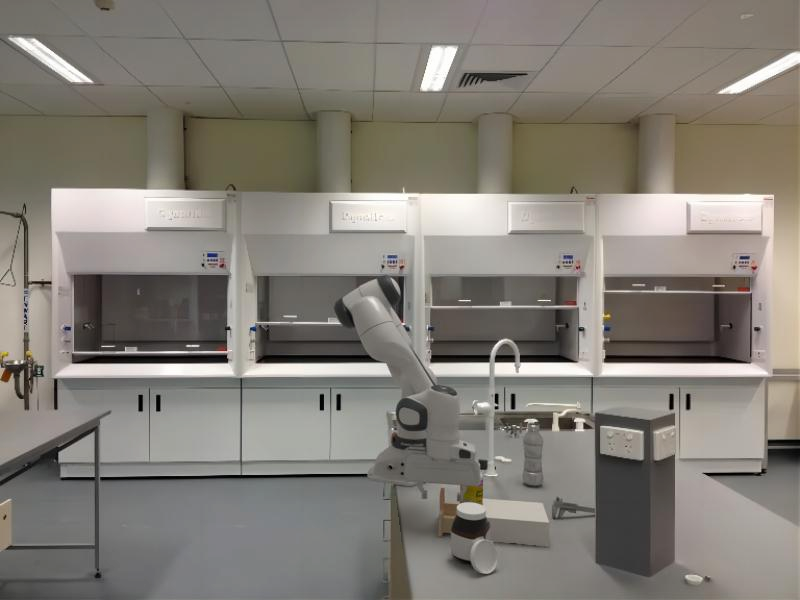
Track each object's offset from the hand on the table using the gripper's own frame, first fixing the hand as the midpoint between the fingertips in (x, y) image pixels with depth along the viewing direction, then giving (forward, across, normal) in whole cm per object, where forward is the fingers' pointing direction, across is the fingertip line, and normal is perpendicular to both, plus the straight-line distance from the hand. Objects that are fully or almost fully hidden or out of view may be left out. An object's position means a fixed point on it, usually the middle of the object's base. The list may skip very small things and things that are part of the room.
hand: (442, 499), depth 132 cm
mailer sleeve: (+7, +19, 0) cm, 20 cm away
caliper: (+8, +40, +14) cm, 43 cm away
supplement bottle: (+8, +8, +14) cm, 18 cm away
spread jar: (+8, +9, -16) cm, 20 cm away
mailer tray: (+7, +8, 0) cm, 10 cm away
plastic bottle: (+8, +28, +36) cm, 46 cm away
